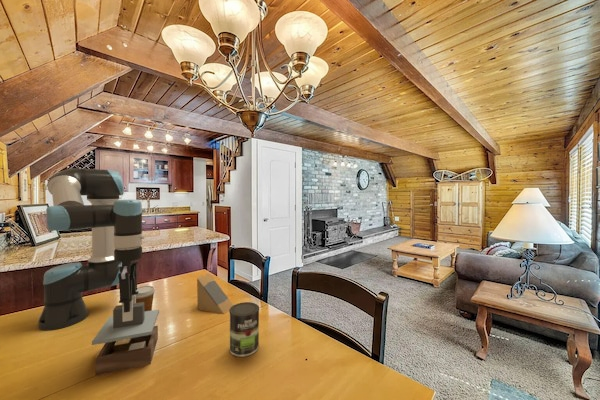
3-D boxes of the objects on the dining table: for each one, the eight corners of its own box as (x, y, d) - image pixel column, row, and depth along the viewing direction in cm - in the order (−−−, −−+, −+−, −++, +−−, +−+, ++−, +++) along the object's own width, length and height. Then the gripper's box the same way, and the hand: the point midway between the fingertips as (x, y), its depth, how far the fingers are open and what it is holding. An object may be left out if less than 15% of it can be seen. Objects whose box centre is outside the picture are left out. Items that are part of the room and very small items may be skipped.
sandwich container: (224, 315, 110) (224, 282, 110) (196, 309, 115) (196, 277, 115) (235, 306, 118) (235, 275, 118) (209, 301, 123) (209, 272, 123)
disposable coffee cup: (124, 319, 106) (124, 291, 105) (145, 309, 114) (145, 284, 114) (139, 324, 102) (139, 295, 102) (160, 313, 111) (160, 287, 110)
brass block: (118, 350, 84) (117, 338, 83) (131, 347, 85) (131, 336, 85) (114, 357, 80) (113, 345, 80) (128, 354, 81) (128, 342, 81)
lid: (109, 319, 85) (109, 299, 85) (159, 312, 91) (158, 293, 90) (91, 345, 71) (91, 321, 71) (151, 334, 77) (151, 312, 77)
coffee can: (263, 351, 85) (263, 311, 85) (232, 360, 80) (232, 318, 80) (254, 335, 94) (254, 299, 94) (226, 343, 89) (226, 305, 89)
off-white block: (131, 355, 81) (131, 343, 81) (145, 352, 82) (145, 341, 82) (128, 363, 77) (128, 351, 77) (143, 360, 79) (143, 348, 78)
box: (111, 350, 85) (111, 333, 85) (157, 341, 90) (157, 325, 90) (95, 379, 72) (95, 359, 72) (150, 366, 77) (150, 348, 77)
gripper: (136, 252, 74) (137, 328, 75) (146, 241, 89) (147, 305, 90) (105, 254, 71) (106, 333, 72) (122, 242, 86) (122, 308, 87)
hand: (129, 317), depth 81 cm, fingers closed on lid, 3 cm apart
